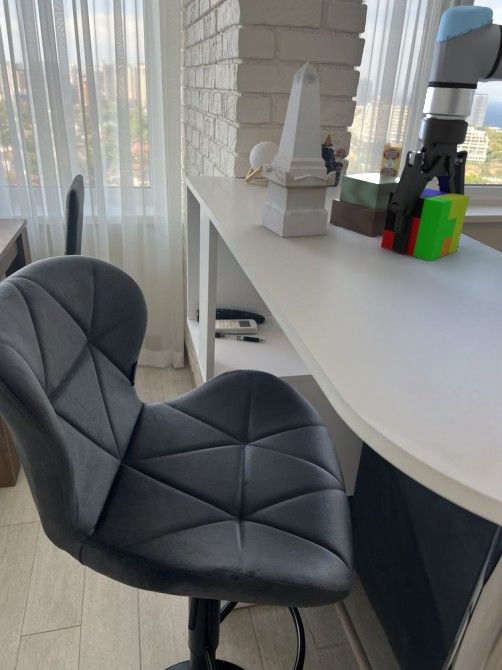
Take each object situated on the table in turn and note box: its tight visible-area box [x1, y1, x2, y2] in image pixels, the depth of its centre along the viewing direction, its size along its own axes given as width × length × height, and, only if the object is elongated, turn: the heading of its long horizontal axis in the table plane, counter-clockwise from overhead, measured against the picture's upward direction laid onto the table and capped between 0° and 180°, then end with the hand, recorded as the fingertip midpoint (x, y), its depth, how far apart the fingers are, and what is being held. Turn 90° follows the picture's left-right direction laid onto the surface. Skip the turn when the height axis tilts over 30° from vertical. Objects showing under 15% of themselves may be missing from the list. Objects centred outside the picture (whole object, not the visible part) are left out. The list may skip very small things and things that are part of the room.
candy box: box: [379, 142, 403, 178], centre depth 117 cm, size 9×4×15 cm, turn 165°
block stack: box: [329, 172, 400, 238], centre depth 105 cm, size 12×12×10 cm
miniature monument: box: [261, 60, 337, 238], centre depth 95 cm, size 10×10×30 cm
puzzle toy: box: [380, 187, 471, 262], centre depth 91 cm, size 10×10×10 cm
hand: (419, 246), depth 93 cm, fingers closed on puzzle toy, 11 cm apart
